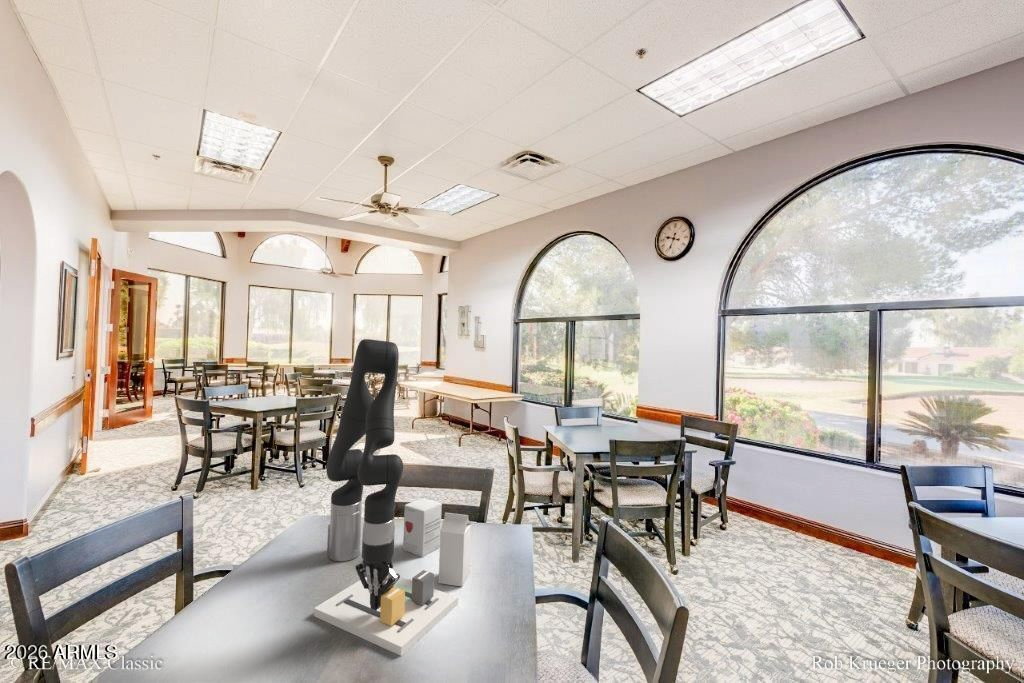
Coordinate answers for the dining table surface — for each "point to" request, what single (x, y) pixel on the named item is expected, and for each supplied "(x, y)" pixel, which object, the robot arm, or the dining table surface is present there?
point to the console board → (364, 622)
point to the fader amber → (392, 606)
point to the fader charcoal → (422, 587)
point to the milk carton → (454, 549)
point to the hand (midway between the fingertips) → (376, 607)
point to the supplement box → (422, 526)
